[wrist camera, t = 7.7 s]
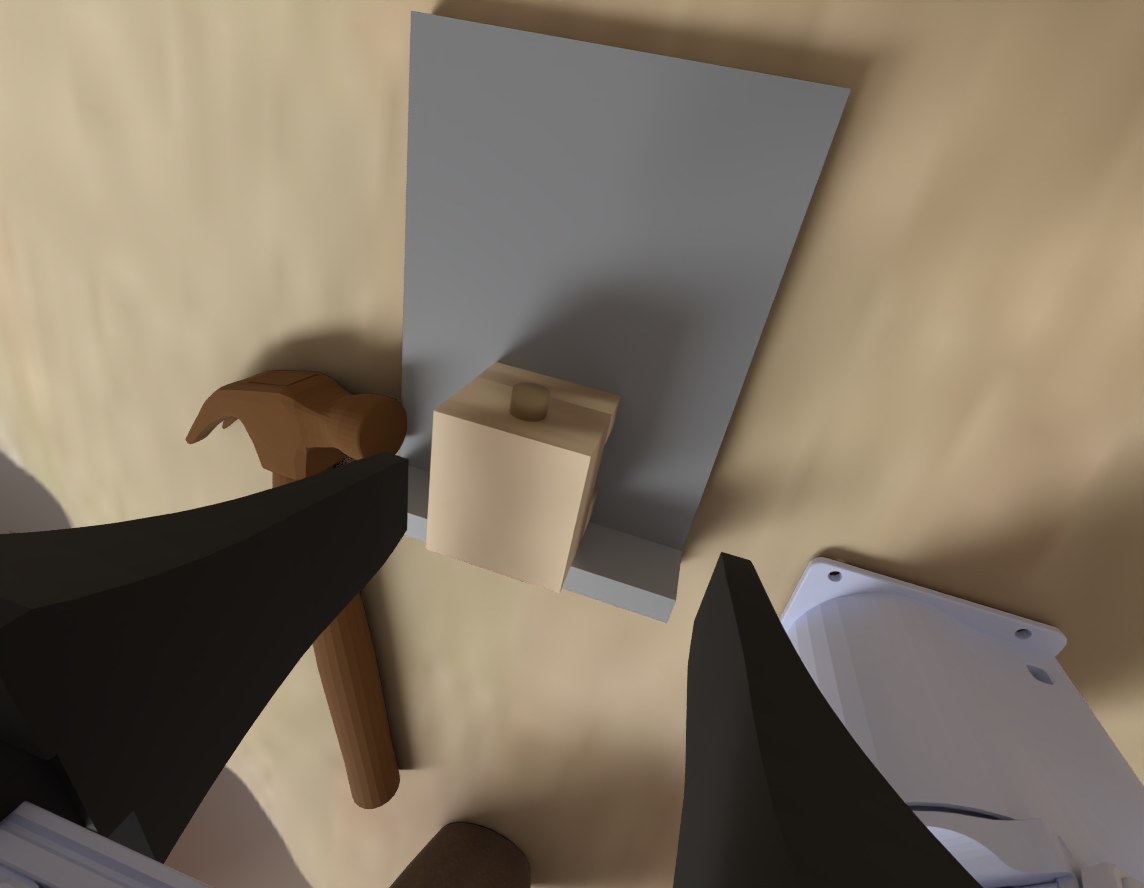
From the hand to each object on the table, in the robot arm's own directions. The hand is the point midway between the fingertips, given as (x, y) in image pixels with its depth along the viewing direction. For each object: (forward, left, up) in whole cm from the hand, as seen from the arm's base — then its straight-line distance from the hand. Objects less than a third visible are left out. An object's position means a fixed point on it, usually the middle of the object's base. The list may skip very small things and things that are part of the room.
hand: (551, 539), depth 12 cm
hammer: (+13, +18, -11) cm, 24 cm away
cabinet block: (+3, +3, -9) cm, 10 cm away
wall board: (+3, -1, -10) cm, 10 cm away
